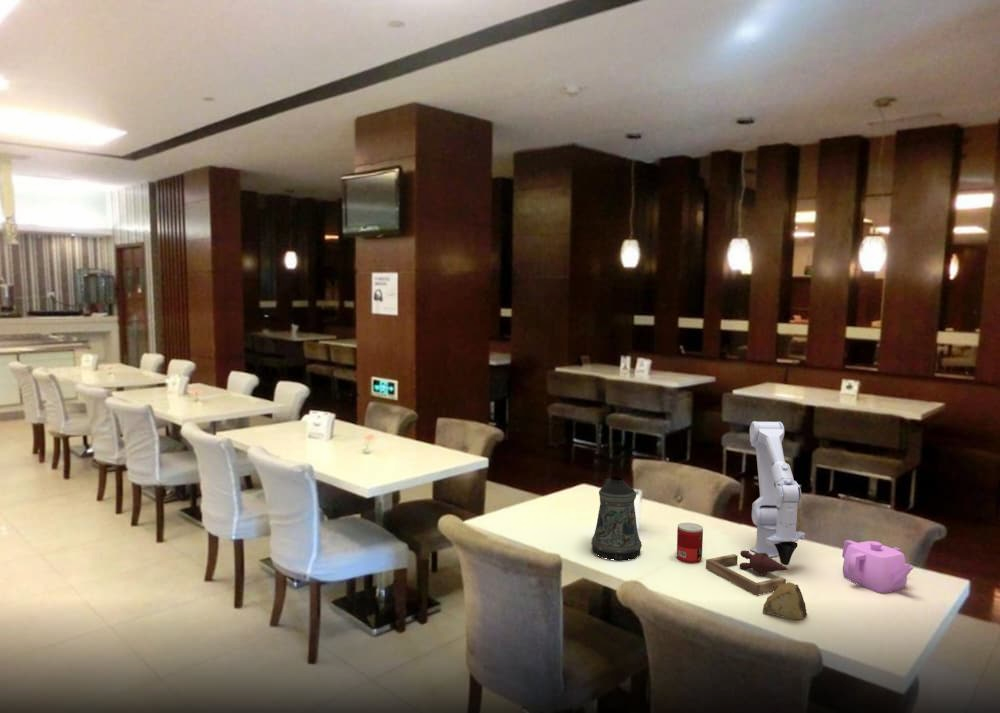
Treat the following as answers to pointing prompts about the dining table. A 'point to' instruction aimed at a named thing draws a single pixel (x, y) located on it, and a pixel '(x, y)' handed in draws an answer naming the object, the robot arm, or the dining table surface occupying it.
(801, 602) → the rock
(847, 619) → the dining table surface
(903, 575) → the teakettle
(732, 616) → the dining table surface
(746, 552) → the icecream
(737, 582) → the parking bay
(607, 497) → the beer stein
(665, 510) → the dining table surface
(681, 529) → the canned food
